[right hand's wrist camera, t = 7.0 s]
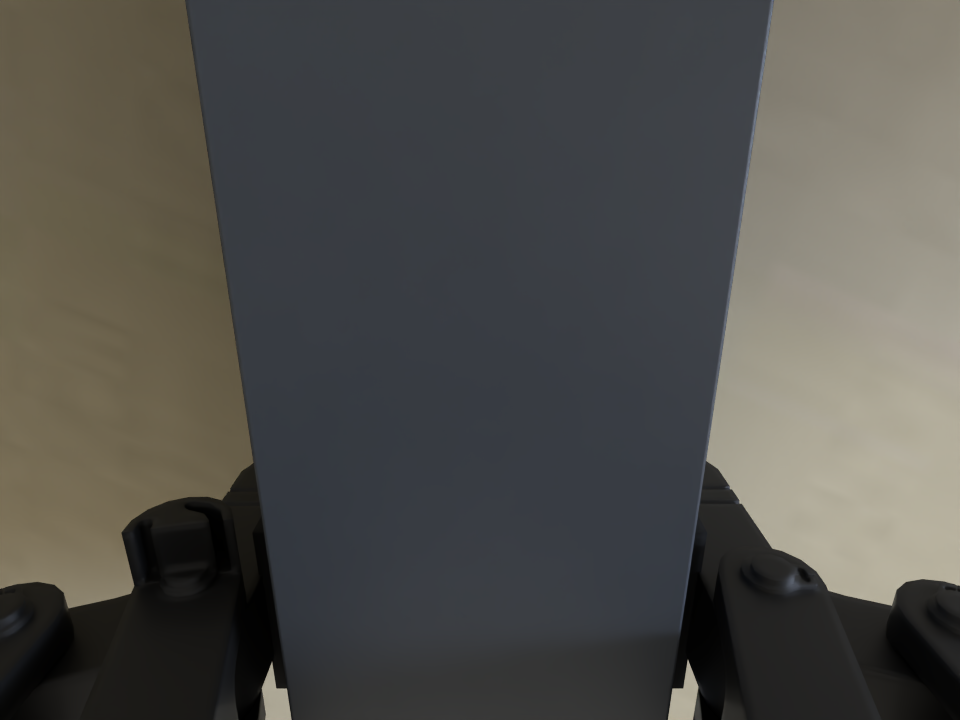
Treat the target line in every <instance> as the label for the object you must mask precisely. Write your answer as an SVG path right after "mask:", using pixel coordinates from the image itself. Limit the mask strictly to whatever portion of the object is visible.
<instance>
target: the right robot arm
mask: <svg viewBox="0 0 960 720" xmlns="http://www.w3.org/2000/svg"><path fill="white" fill-rule="evenodd" d="M122 537H123V541H124V545H125V549H126V553H127V557H128V561H129V565H130V569H131V573H132V578H133V582H134V588H133V591H132V593H131V594H128V595H125V596H121V597H118V598H114V599H110V600H105V601H101V602H96V603H92V604H87V605H82V606H78V607H73V608H69V609H68V606H67V603H66V599H65V596H64V593H63V592H62V591H61V590H60V589H59V588H57V587H56V586H55V585H52V584H46V583H41V582H33V583H25V584H16V585H13V586H9V587H5V588H3V589H2V588H1V589H0V720H265V716H266V713H265V706H264V699H263V693H262V686H263V683H264V681H265V678H266V676H267V673H268V670H269V668H270V665H271V663H273V669H274V676H275V682H276V688H287V685H286V678H285V671H284V664H283V658H282V651H281V644H280V637H279V630H278V624H277V617H276V610H275V603H274V597H273V590H272V583H271V576H270V570H269V563H268V556H267V549H266V543H265V536H264V529H263V522H262V516H261V509H260V502H259V495H258V488H257V482H256V475H255V468H254V463H253V464H252V465H250V466H249V467H247V468H246V469H245V470H243V471H242V472H241V473H240V475H239V476H238V478H237V479H236V481H235V482H234V484H233V485H232V487H231V488H230V492H228V493H227V494H226V496H225V497H224V498H223V500H218V499H214V498H210V497H187V498H182V499H178V500H173V501H168V502H166V503H163V504H161V505H158V506H156V507H153V508H151V509H148V510H147V511H145V512H144V513H142V514H141V515H139V516H138V517H136V518H135V519H133V520H132V521H131V522H130V523H129V524H128V525H127V527H126V528H125V529H124V530H123V531H122ZM687 660H689V663H690V666H691V668H692V671H693V673H694V676H695V679H696V681H697V684H698V686H699V687H698V693H697V699H696V705H695V711H694V717H693V720H960V586H959V585H958V586H957V585H955V584H951V583H947V582H943V581H934V580H925V579H921V580H915V581H909V582H906V583H904V584H903V585H902V586H901V587H900V588H899V589H897V591H896V594H895V598H894V601H893V604H892V606H890V605H885V604H881V603H876V602H871V601H867V600H862V599H858V598H853V597H848V596H844V595H841V594H837V593H834V592H830V591H828V589H827V587H826V585H825V583H824V582H823V581H822V579H821V578H820V576H819V575H818V573H817V572H816V571H815V570H813V569H812V568H811V567H809V566H808V565H807V564H806V563H804V562H803V561H802V560H800V559H798V558H796V557H793V556H791V555H789V554H787V553H785V552H783V551H779V550H775V549H772V548H771V546H770V545H769V543H768V542H767V540H766V539H765V537H764V536H763V534H762V533H761V532H760V530H759V529H758V527H757V526H756V524H755V523H754V521H753V520H752V518H751V517H750V515H749V514H748V512H747V511H746V510H745V508H744V507H743V505H742V504H739V499H738V498H737V496H736V495H735V493H734V492H733V490H730V486H729V485H728V483H727V482H726V480H725V479H724V477H723V476H722V474H721V473H720V471H719V470H718V469H717V468H715V467H714V466H713V465H711V464H710V463H708V462H707V461H706V464H705V470H704V477H703V484H702V491H701V498H700V504H699V511H698V518H697V525H696V531H695V538H694V545H693V552H692V559H691V565H690V572H689V579H688V586H687V592H686V599H685V606H684V613H683V619H682V626H681V633H680V640H679V647H678V653H677V660H676V667H675V674H674V680H673V687H672V688H683V686H684V680H685V673H686V667H687Z"/></svg>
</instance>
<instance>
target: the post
mask: <svg viewBox="0 0 960 720" xmlns="http://www.w3.org/2000/svg"><path fill="white" fill-rule="evenodd" d="M185 2H186V8H187V15H188V22H189V29H190V35H191V42H192V49H193V56H194V62H195V69H196V76H197V83H198V90H199V96H200V103H201V110H202V117H203V123H204V130H205V137H206V144H207V150H208V157H209V164H210V171H211V177H212V184H213V191H214V198H215V204H216V211H217V218H218V225H219V232H220V238H221V245H222V252H223V259H224V265H225V272H226V279H227V286H228V292H229V299H230V306H231V313H232V319H233V326H234V333H235V340H236V346H237V353H238V360H239V367H240V374H241V380H242V387H243V394H244V401H245V407H246V414H247V421H248V428H249V434H250V441H251V448H252V455H253V461H254V468H255V475H256V482H257V488H258V495H259V502H260V509H261V516H262V522H263V529H264V536H265V543H266V549H267V556H268V563H269V570H270V576H271V583H272V590H273V597H274V603H275V610H276V617H277V624H278V630H279V637H280V644H281V651H282V658H283V664H284V671H285V678H286V685H287V691H288V698H289V705H290V712H291V718H292V720H668V714H669V708H670V701H671V694H672V687H673V680H674V674H675V667H676V660H677V653H678V647H679V640H680V633H681V626H682V619H683V613H684V606H685V599H686V592H687V586H688V579H689V572H690V565H691V559H692V552H693V545H694V538H695V531H696V525H697V518H698V511H699V504H700V498H701V491H702V484H703V477H704V470H705V464H706V457H707V450H708V443H709V437H710V430H711V423H712V416H713V409H714V403H715V396H716V389H717V382H718V376H719V369H720V362H721V355H722V348H723V342H724V335H725V328H726V321H727V315H728V308H729V301H730V294H731V287H732V281H733V274H734V267H735V260H736V254H737V247H738V240H739V233H740V227H741V220H742V213H743V206H744V199H745V193H746V186H747V179H748V172H749V166H750V159H751V152H752V145H753V138H754V132H755V125H756V118H757V111H758V105H759V98H760V91H761V84H762V77H763V71H764V64H765V57H766V50H767V44H768V37H769V30H770V23H771V16H772V10H773V3H774V0H185Z"/></svg>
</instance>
